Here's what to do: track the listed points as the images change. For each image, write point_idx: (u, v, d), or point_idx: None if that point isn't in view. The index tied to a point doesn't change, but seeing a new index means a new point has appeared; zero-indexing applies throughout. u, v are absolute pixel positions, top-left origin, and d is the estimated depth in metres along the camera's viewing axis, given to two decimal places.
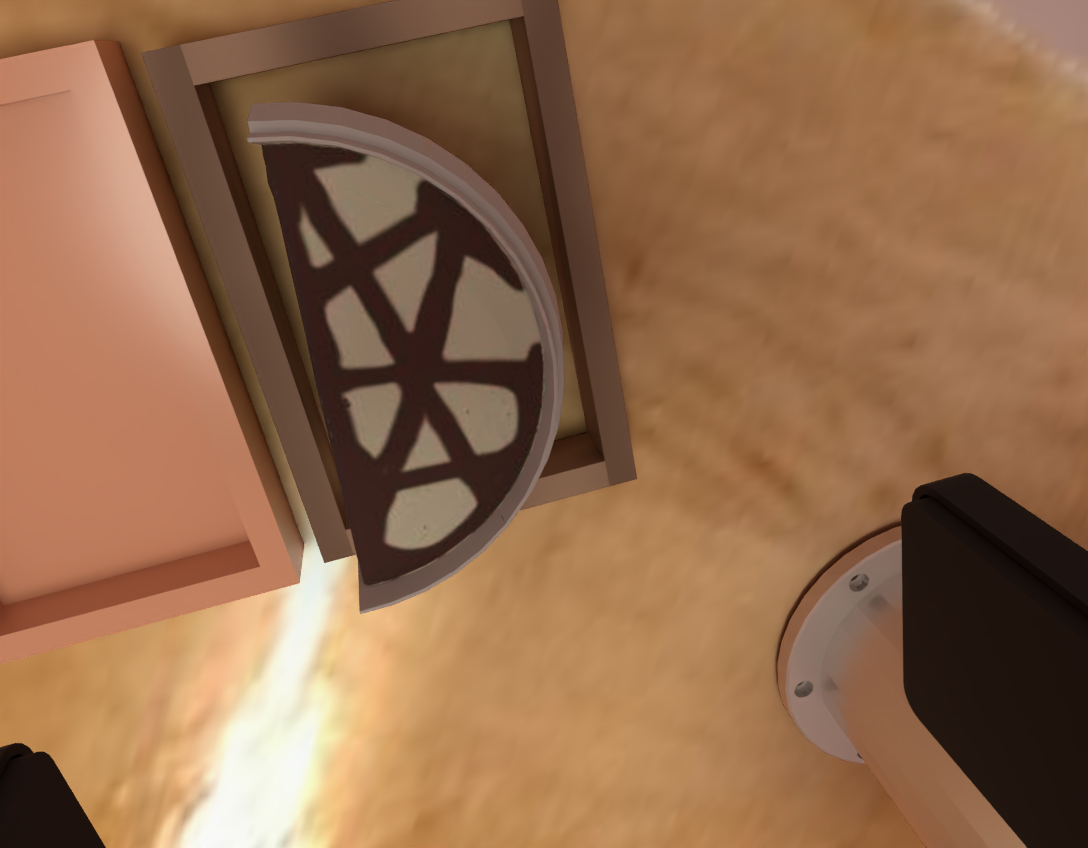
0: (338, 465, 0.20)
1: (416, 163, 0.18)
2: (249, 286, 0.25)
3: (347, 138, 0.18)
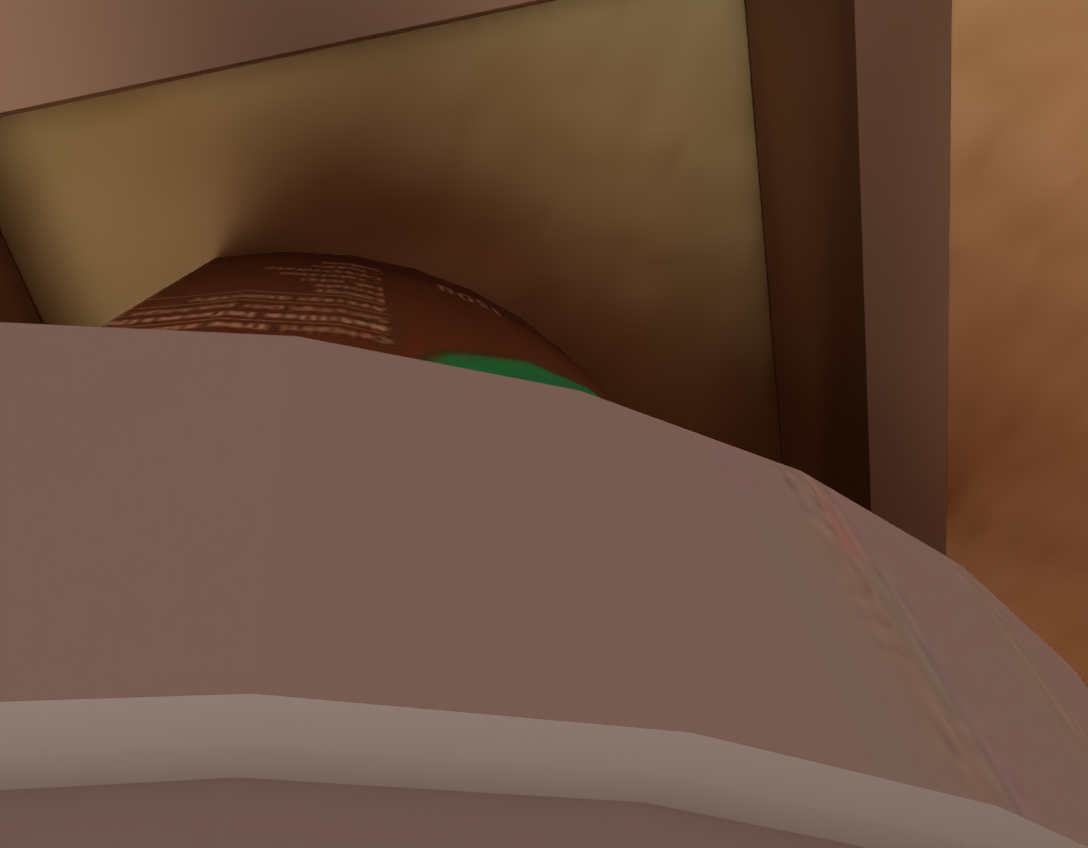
0: None
1: None
2: None
3: (324, 778, 0.02)
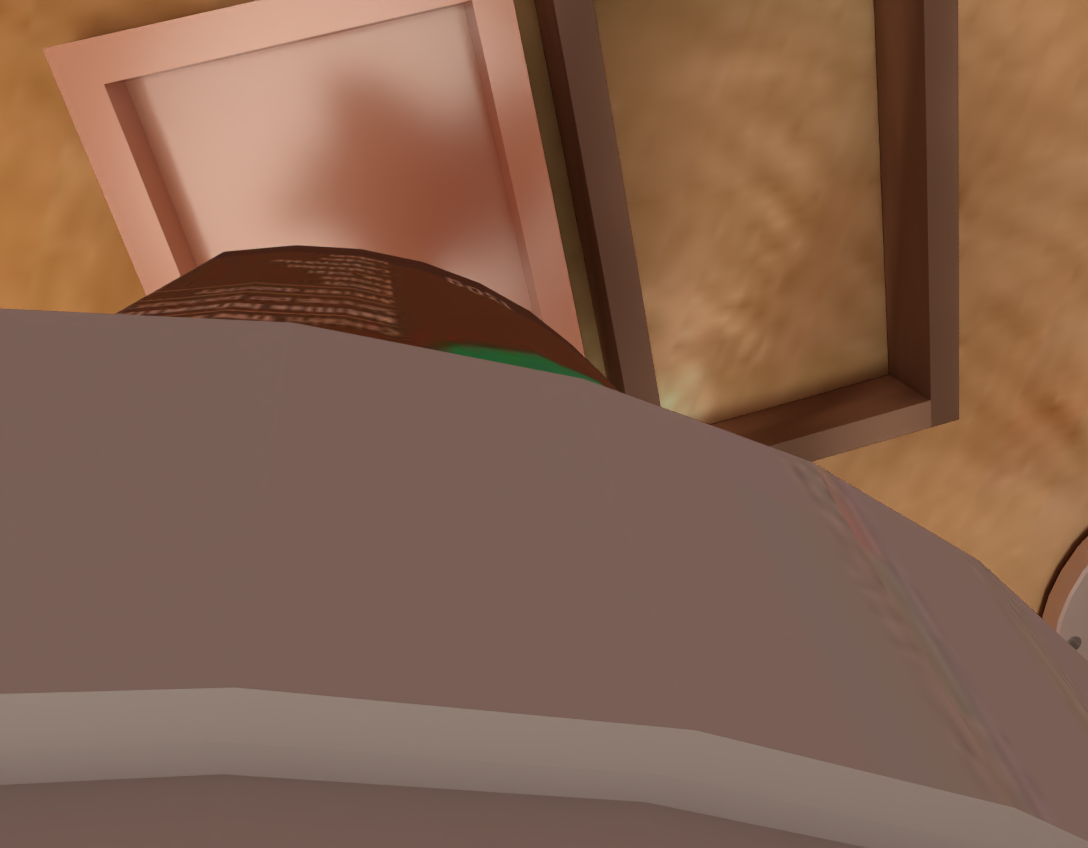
0: None
1: None
2: (615, 212, 0.24)
3: (314, 775, 0.02)
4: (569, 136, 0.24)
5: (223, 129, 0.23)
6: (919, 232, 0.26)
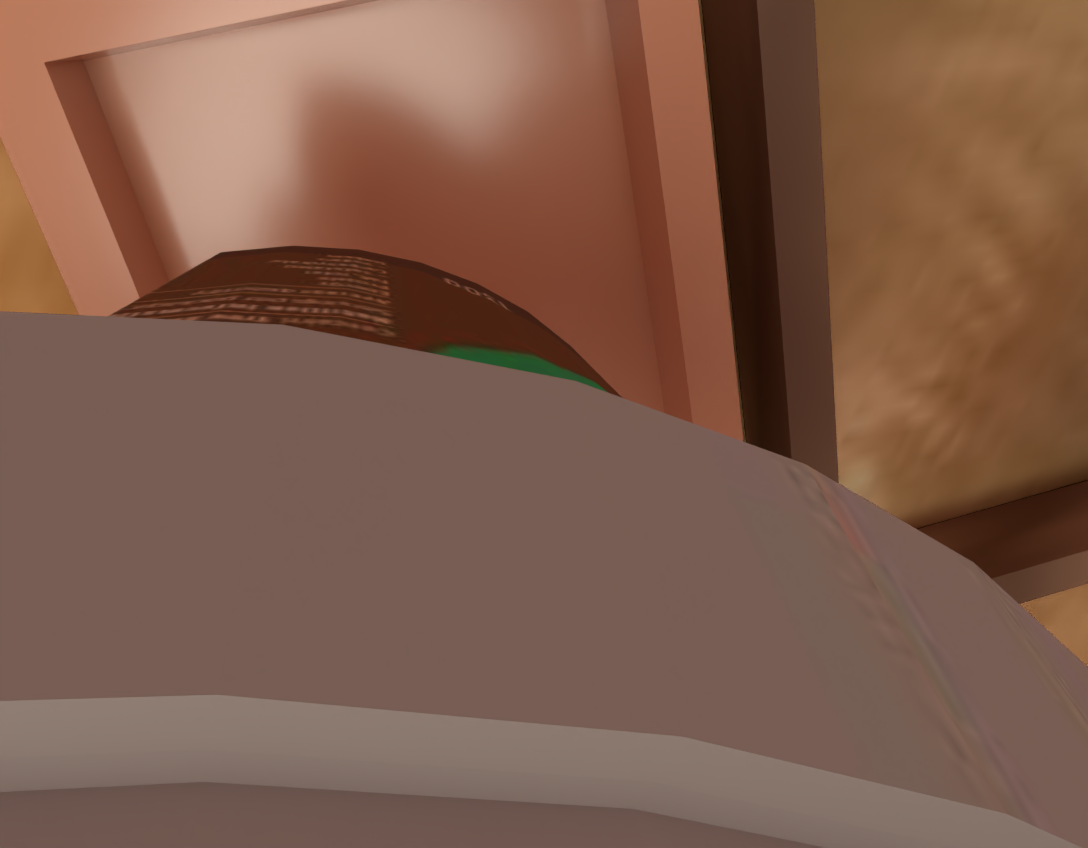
0: None
1: None
2: (810, 268, 0.16)
3: (295, 783, 0.02)
4: (742, 155, 0.16)
5: (234, 137, 0.15)
6: None
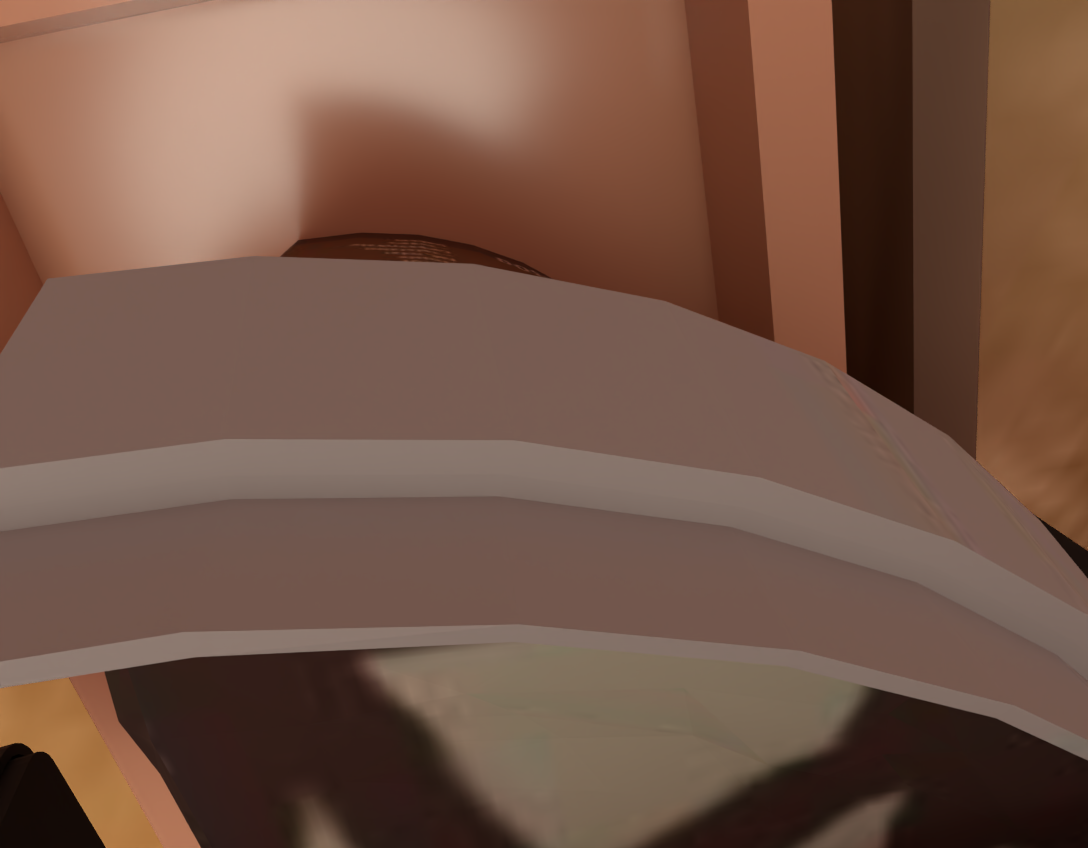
0: None
1: (894, 576, 0.03)
2: (957, 339, 0.12)
3: (547, 500, 0.03)
4: (863, 184, 0.12)
5: (162, 163, 0.11)
6: None
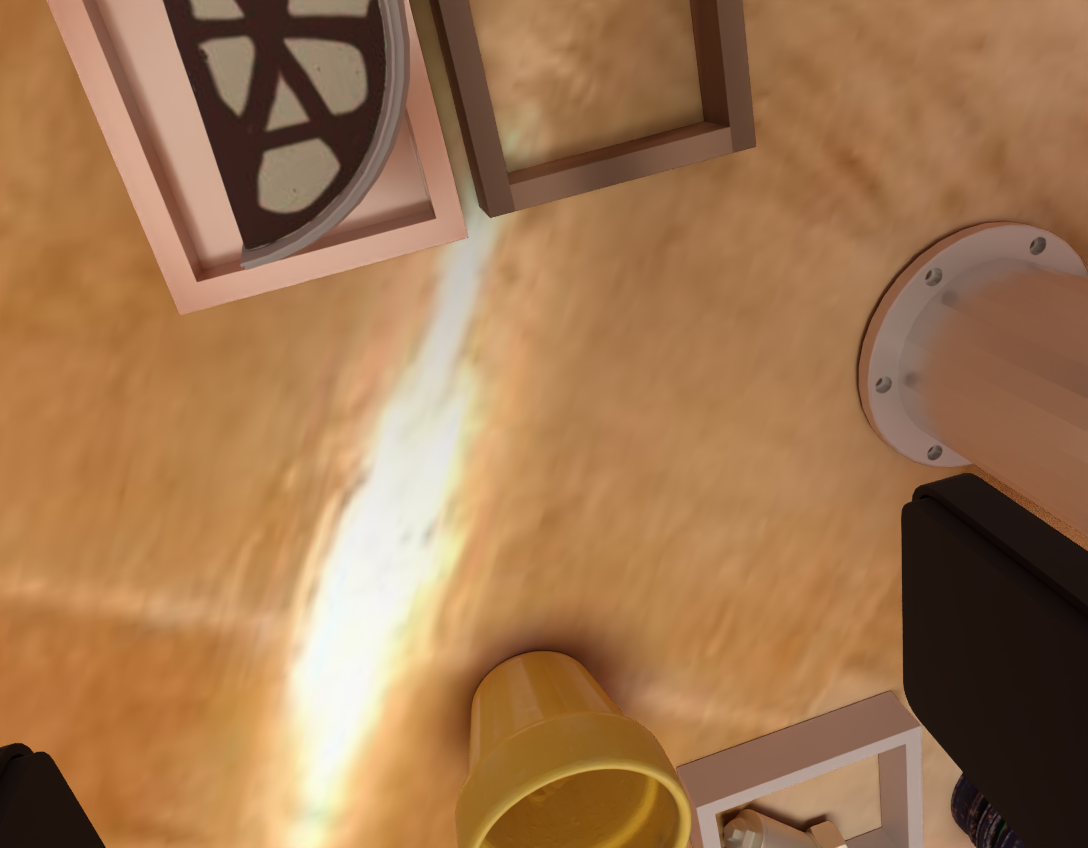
0: (205, 123, 0.23)
1: None
2: None
3: None
4: None
5: None
6: None
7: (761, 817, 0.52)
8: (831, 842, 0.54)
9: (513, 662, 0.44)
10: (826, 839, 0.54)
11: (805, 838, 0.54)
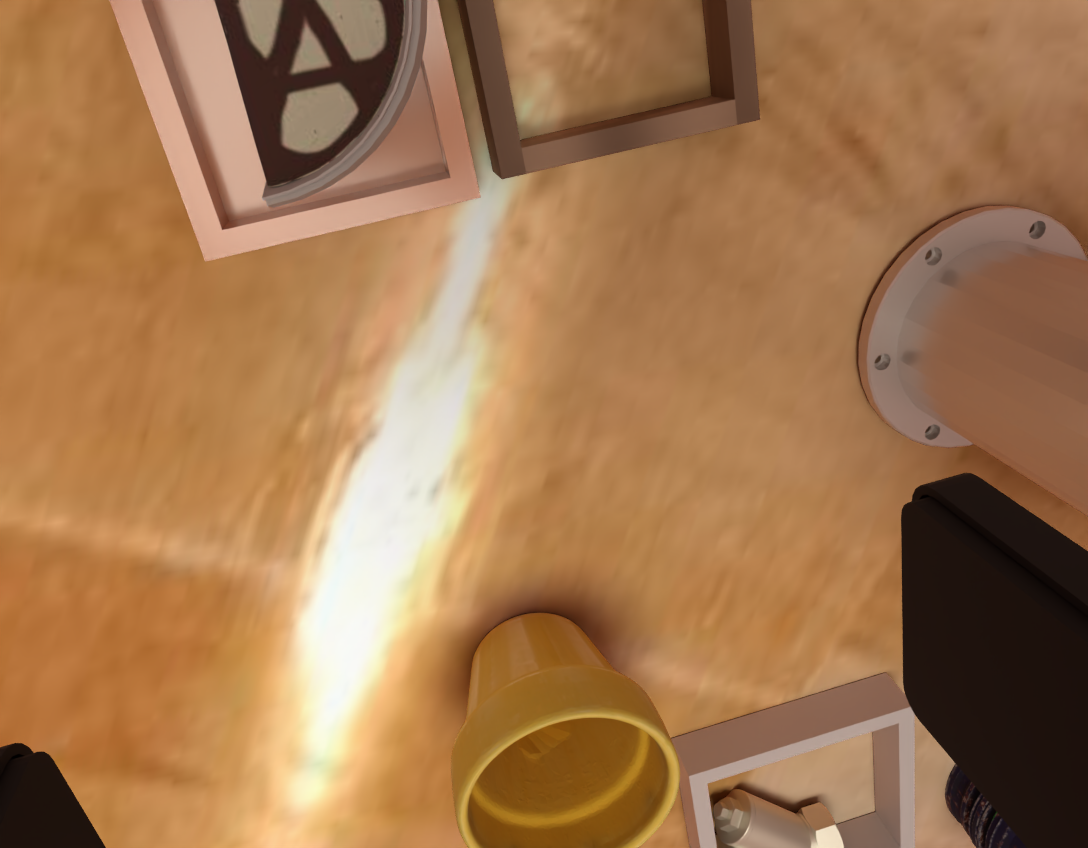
0: (235, 64, 0.25)
1: None
2: None
3: None
4: None
5: None
6: None
7: (750, 797, 0.53)
8: (821, 822, 0.54)
9: (513, 621, 0.45)
10: (816, 820, 0.55)
11: (795, 818, 0.54)
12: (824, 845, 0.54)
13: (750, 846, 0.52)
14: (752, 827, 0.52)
